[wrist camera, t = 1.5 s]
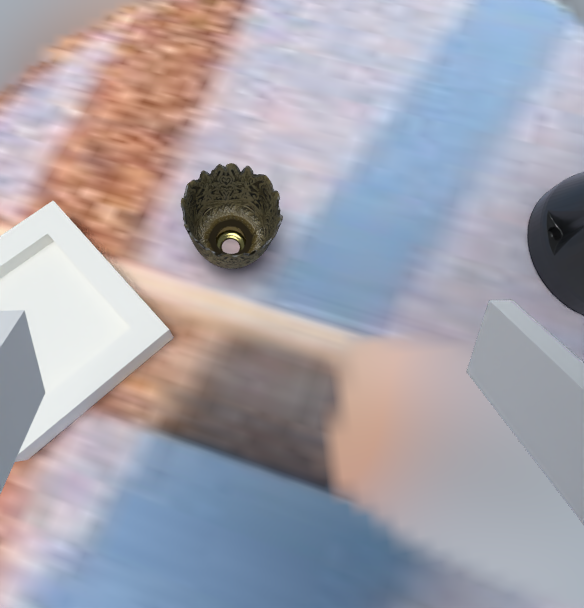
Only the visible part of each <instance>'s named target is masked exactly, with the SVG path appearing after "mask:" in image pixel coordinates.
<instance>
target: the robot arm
mask: <svg viewBox="0 0 584 608" xmlns="http://www.w3.org/2000/svg"><path fill="white" fill-rule="evenodd" d="M528 241H529V248H530V253H531V256H532V260H533V262H534V265H535V267H536V269H537V271H538V273H539V275H540V277H541V278H542V280H543V281H544V283H545V284H546V286H547V287H548V288H549V289H550V290H551V292H552V293H553V294H554V295H555V296H556V297H557V298H558V299H559V300H561V301H562V302H563V303H564V304H566V305H567V306H568V307H570V308H571V309H573V310H575V311H576V312H578V313H580V314H582V315H584V172H582V173H579V174H576V175H574V176H571V177H569V178H567V179H565V180H564V181H562V182H561V183H559V184H558V185H557V186H555V187H554V188H552V189H551V190H550V191H548V192H547V193H546V194H545V195H544V196H543V197H542V198H541V199H540V200H539V201H538V203H537V204H536V206H535V208H534V210H533V212H532V215H531V218H530V222H529V229H528ZM467 373H468V375H469V376H470V377H471V378H472V379H473V381H474V382H475V384H476V385H477V386H478V388H479V389H480V390H481V391H482V393H483V394H484V395H485V397H486V398H487V399H488V401H489V402H490V403H491V405H492V406H493V407H494V408H495V410H496V411H497V412H498V414H499V415H500V416H501V418H502V419H503V420H504V422H505V423H506V424H507V426H509V428H510V429H511V431H512V432H513V433H514V435H515V436H516V437H517V438H518V440H519V441H520V442H521V444H522V445H523V446H524V448H525V449H526V450H527V452H528V453H529V454H530V456H531V457H532V458H533V459H534V461H535V462H536V463H537V465H538V466H539V467H540V469H541V470H542V471H543V473H544V474H545V475H546V476H547V478H548V479H549V480H550V481H551V483H552V484H553V485H554V487H555V488H556V489H557V491H558V492H559V493H560V495H561V496H562V497H563V499H564V500H565V501H566V502H567V504H568V505H569V507H570V508H571V509H572V510H573V512H574V513H575V514H576V515H577V517H578V518H579V520H580V521H581V522H582V523H583V525H584V363H583V362H582V361H581V360H580V359H579V358H578V357H577V356H575V355H574V354H573V353H572V352H571V351H570V350H569V349H567V348H566V347H565V346H564V345H563V344H562V343H561V342H559V341H558V340H557V339H556V338H555V337H554V336H553V335H551V334H550V333H549V332H548V331H547V330H546V329H545V328H543V327H542V326H541V325H540V324H539V323H538V322H537V321H535V320H534V319H533V318H532V317H531V316H530V315H529V314H528V313H526V312H525V311H524V310H523V309H522V308H521V307H520V306H518V305H517V304H516V303H515V302H514V301H513V300H489V302H488V305H487V309H486V312H485V315H484V318H483V321H482V324H481V328H480V331H479V334H478V337H477V340H476V343H475V346H474V350H473V353H472V356H471V359H470V362H469V365H468V369H467ZM44 395H45V389H44V385H43V381H42V377H41V373H40V369H39V365H38V361H37V357H36V353H35V349H34V346H33V342H32V338H31V334H30V330H29V326H28V322H27V318H26V314H25V310H12V311H0V494H1V491H2V489H3V487H4V485H5V482H6V480H7V478H8V476H9V473H10V471H11V469H12V467H13V464H14V462H15V460H16V458H17V455H18V453H19V451H20V449H21V446H22V444H23V442H24V440H25V437H26V435H27V433H28V431H29V429H30V426H31V424H32V422H33V420H34V417H35V415H36V413H37V411H38V408H39V406H40V404H41V402H42V399H43V397H44Z"/></svg>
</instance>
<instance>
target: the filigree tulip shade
mask: <svg viewBox="0 0 584 608" xmlns="http://www.w3.org/2000/svg"><path fill="white" fill-rule="evenodd" d="M253 173H254V172H253V170H252V169H251V168H250V167H249V166H246V167H245V168H244V169H243V170H242V172H240V170H239V168H238V167H237V165H235V164H232V163H230V164H227V165H226V167H224V166H222V165H221V164H219V165H218V166H217V167H216V168H215V169H214V170H212V171H211V174H209V173H208V172H206V171H202V172H201V174H200V178H199V179H198V180H192V181H191V182H189V183H188V184H187V186H186V190H185V193H184V198H182V199H181V208H182V210H183V220H184V223H185V224H184V226H185V228H186V230H187V232H188V234H189V236H190V238H191V240H192V242H193V244H194V245H195V247H196V248H197V250H198V251H199V253H200V254H201V255H202V256H203V257H204V258H205V259H207V260H208V261H209V262H211V263H213V264H214V265H217V266H220V267H223V268H241V267H244V266H247V265H249V264H251V263H253V262H254V261H256V260H257V259H258V258H259V257H260V256H261V255H262V254H263V253H264V252H265V251H266V249H267V248H268V246H269V244H270V243H271V241H272V240H273V238H274V237H275V235H276V234H277V231H278V229H279V226H280V224H281V222H282V218H283V216H282V215H281V214H280V208H279V200H280V196H279V193H278V191H274V189H273V185H272V183H271V181H270V180H269V178H268V177H267V176H266V175H262V174H258V175H256V174H253ZM226 239H235V240H236V241H238V243H239V245H240V250H239V252H238V253H235V254H227V253H225V252H223V251H222V243H223V242H224V241H225V240H226Z"/></svg>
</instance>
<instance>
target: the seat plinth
mask: <svg viewBox="0 0 584 608" xmlns="http://www.w3.org/2000/svg"><path fill="white" fill-rule="evenodd" d="M12 310H25V314H26V318H27V322H28V326H29V330H30V334H31V338H32V342H33V346H34V349H35V353H36V357H37V361H38V365H39V369H40V373H41V377H42V381H43V385H44V389H45V395H44V397H43V399H42V402H41V404H40V406H39V408H38V411H37V413H36V415H35V417H34V420H33V422H32V424H31V426H30V429H29V431H28V433H27V435H26V437H25V440H24V442H23V444H22V446H21V449H20V451H19V453H18V455H17V458H16V460H15V462H17V461H23V460H28V459H29V458H31V457H32V456H33V455H34V454H35V453H37V452H38V451H39V450H40V449H41V448H43V447H44V446H45V445H46V444H47V443H49V442H50V441H51V440H52V439H53V438H54V437H56V436H57V435H58V434H59V433H60V432H62V431H63V430H64V429H65V428H66V427H68V426H69V425H70V424H71V423H72V422H74V421H75V420H76V419H77V418H78V417H80V416H81V415H82V414H83V413H84V412H86V411H87V410H88V409H89V408H90V407H92V406H93V405H94V404H95V403H96V402H98V401H99V400H100V399H101V398H102V397H103V396H105V395H106V394H107V393H108V392H109V391H111V390H112V389H113V388H114V387H115V386H117V385H118V384H119V383H120V382H121V381H123V380H124V379H125V378H126V377H127V376H129V375H130V374H131V373H132V372H133V371H135V370H136V369H137V368H138V367H139V366H141V365H142V364H143V363H144V362H145V361H146V360H148V359H149V358H150V357H151V356H152V355H154V354H155V353H156V352H157V351H158V350H160V349H161V348H162V347H163V346H164V345H166V344H167V343H168V342H169V341H170V340H172V339H173V338H174V337H173V336H172V334H171V332H170V330H169V329H168V328H167V327H166V325H165V324H164V323H163V322H162V321H161V320H160V319H159V318H158V316H157V315H156V314H155V313H154V312H153V311H152V310H151V309H150V308H149V306H148V305H147V304H146V303H145V302H144V301H143V300H142V299H141V298H140V296H139V295H138V294H137V293H136V292H135V291H134V290H133V289H132V288H131V286H130V285H129V284H128V283H127V282H126V281H125V280H124V279H123V278H122V276H121V275H120V274H119V273H118V272H117V271H116V270H115V269H114V268H113V266H112V265H111V264H110V263H109V262H108V261H107V260H106V259H105V258H104V256H103V255H102V254H101V253H100V252H99V251H98V250H97V249H96V248H95V246H94V245H93V244H92V243H91V242H90V241H89V240H88V239H87V238H86V236H85V235H84V234H83V233H82V232H81V231H80V230H79V229H78V228H77V226H76V225H75V224H74V223H73V222H72V221H71V220H70V219H69V218H68V216H67V215H66V214H65V213H64V212H63V211H62V210H61V209H60V208H59V206H58V205H57V204H56V203H55V202H54V201H52V202H50V203H49V204H47V205H46V206H44V207H43V208H41V209H40V210H38V211H37V212H35V213H34V214H33V215H31V216H30V217H28V218H27V219H25V220H24V221H22V222H21V223H19V224H18V225H16V226H15V227H13V228H12V229H10V230H9V231H7V232H6V233H4V234H3V235H1V236H0V311H12Z"/></svg>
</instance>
